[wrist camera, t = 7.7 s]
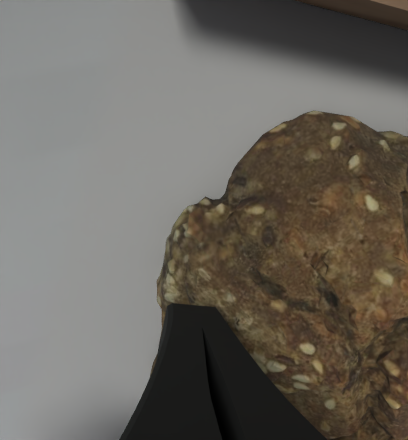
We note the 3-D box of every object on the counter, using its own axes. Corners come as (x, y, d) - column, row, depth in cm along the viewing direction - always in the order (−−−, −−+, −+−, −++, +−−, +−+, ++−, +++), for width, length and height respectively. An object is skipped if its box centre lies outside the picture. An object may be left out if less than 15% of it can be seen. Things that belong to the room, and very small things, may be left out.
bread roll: (431, 407, 17) (532, 535, 13) (152, 430, 16) (151, 586, 11) (543, 111, 12) (782, 149, 7) (141, 104, 10) (131, 147, 6)
